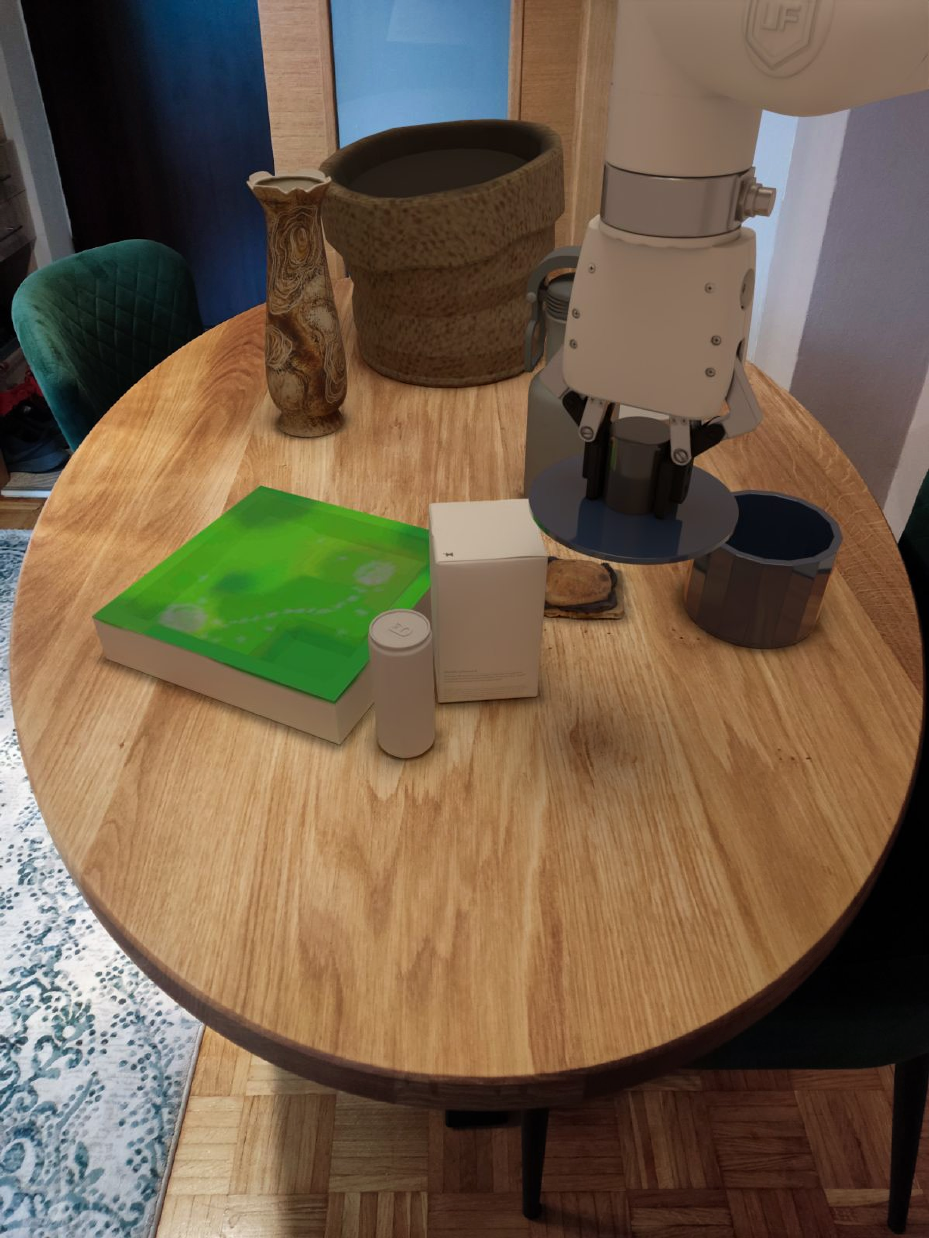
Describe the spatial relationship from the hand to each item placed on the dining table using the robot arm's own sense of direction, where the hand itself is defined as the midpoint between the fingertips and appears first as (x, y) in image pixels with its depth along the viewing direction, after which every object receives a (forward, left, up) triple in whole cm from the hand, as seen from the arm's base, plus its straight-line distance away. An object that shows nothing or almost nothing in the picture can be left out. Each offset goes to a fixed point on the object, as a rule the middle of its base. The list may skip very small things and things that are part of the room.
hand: (632, 496), depth 58 cm
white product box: (+13, -3, -23) cm, 27 cm away
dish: (+20, -53, -23) cm, 61 cm away
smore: (+11, -17, -23) cm, 31 cm away
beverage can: (+14, +8, -23) cm, 28 cm away
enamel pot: (-5, -24, -23) cm, 34 cm away
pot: (+55, -64, -23) cm, 87 cm away
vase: (+57, -34, -23) cm, 70 cm away
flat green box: (+32, 0, -23) cm, 39 cm away
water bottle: (+19, -32, -23) cm, 44 cm away
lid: (0, 0, -1) cm, 1 cm away
